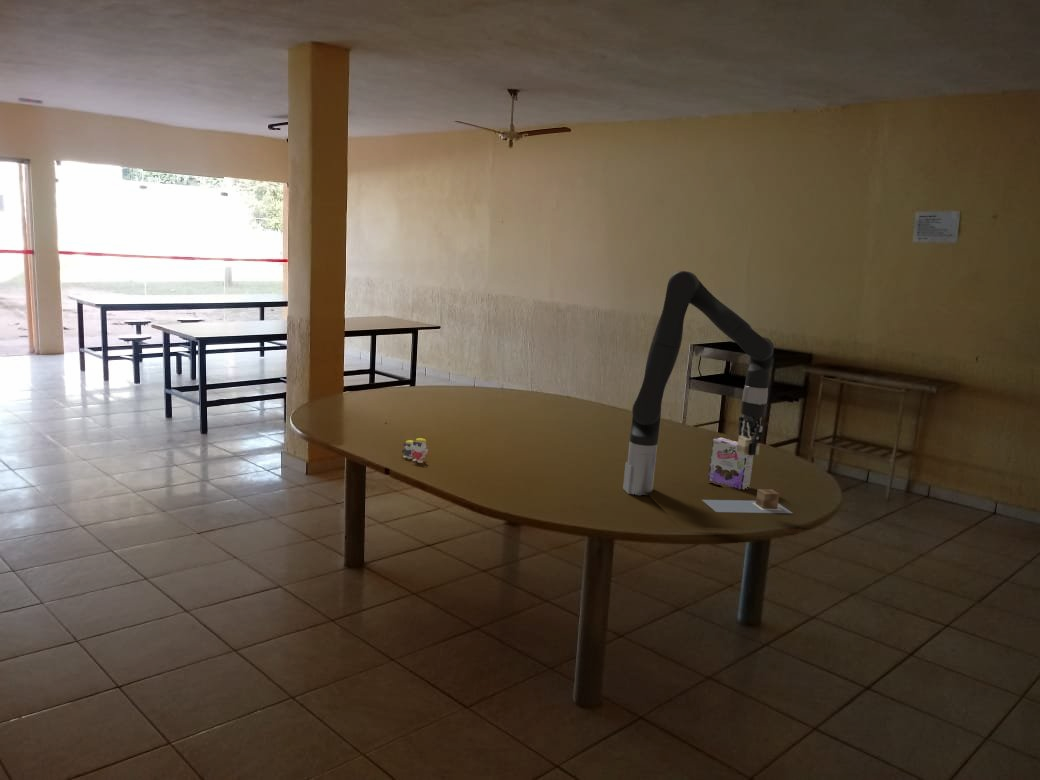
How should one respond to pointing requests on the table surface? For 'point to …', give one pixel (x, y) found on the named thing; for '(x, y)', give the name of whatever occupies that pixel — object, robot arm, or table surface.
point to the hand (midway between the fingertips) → (747, 452)
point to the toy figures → (415, 449)
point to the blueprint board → (742, 506)
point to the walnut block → (767, 498)
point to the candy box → (729, 464)
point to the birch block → (745, 445)
